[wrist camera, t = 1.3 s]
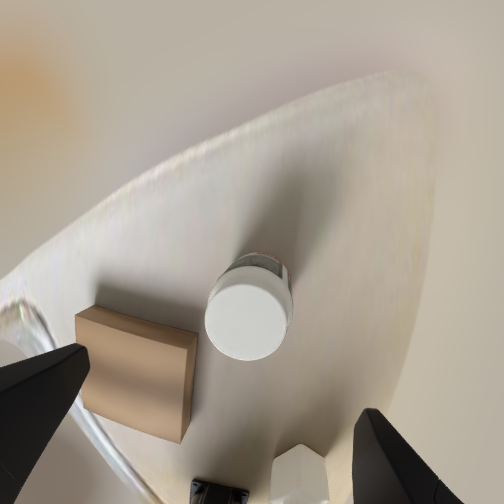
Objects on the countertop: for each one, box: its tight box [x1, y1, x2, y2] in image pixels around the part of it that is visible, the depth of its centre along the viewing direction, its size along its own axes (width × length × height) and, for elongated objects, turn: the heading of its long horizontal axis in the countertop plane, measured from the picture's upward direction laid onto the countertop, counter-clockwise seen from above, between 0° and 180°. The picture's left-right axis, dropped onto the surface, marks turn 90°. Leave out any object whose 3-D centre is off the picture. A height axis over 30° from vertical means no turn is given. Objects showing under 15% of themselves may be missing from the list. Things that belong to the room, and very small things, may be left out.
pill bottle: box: [205, 252, 293, 361], centre depth 18 cm, size 5×5×8 cm
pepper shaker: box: [269, 444, 330, 504], centre depth 20 cm, size 4×4×10 cm
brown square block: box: [75, 305, 198, 444], centre depth 23 cm, size 10×10×3 cm
